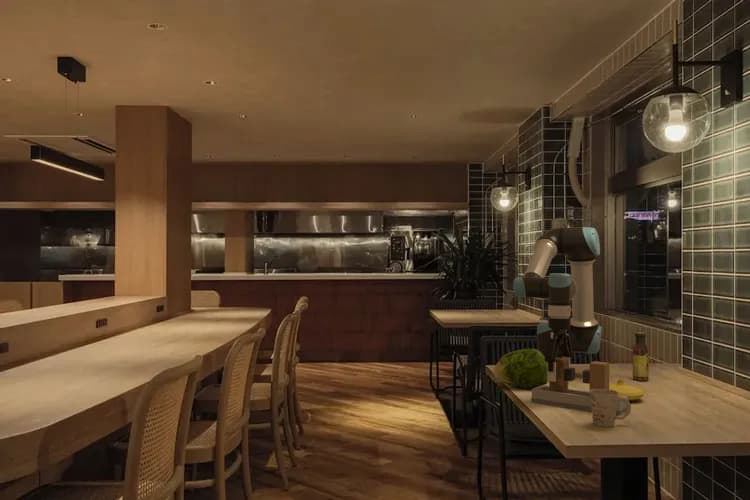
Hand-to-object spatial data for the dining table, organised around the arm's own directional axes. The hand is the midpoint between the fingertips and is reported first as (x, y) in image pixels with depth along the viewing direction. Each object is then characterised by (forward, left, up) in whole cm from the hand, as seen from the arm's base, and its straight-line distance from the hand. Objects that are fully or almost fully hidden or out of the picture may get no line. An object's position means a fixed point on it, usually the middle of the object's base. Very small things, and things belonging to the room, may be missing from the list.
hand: (558, 378), depth 223 cm
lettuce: (-22, +18, -9) cm, 30 cm away
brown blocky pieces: (+7, 0, -9) cm, 11 cm away
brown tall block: (+1, 0, -7) cm, 7 cm away
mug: (+23, -18, -9) cm, 31 cm away
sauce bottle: (+11, +64, -9) cm, 66 cm away
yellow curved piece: (+15, +21, -9) cm, 27 cm away
